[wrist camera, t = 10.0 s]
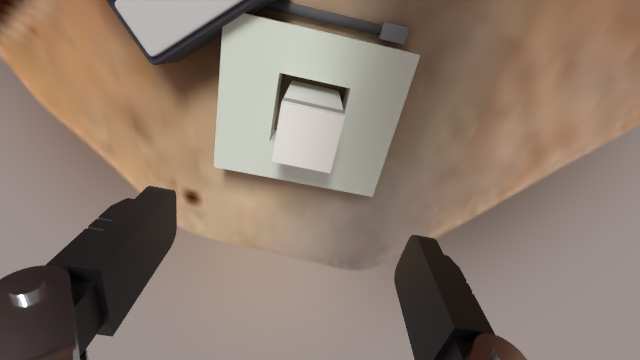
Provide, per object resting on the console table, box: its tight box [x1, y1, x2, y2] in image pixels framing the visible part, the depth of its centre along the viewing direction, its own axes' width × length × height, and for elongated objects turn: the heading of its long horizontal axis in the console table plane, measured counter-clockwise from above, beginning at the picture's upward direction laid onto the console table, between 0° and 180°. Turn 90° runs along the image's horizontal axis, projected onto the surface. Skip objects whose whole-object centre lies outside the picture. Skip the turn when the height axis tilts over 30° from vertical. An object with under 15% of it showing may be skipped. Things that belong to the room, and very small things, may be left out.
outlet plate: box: [214, 13, 420, 197], centre depth 25 cm, size 12×14×3 cm
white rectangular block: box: [272, 80, 345, 173], centre depth 23 cm, size 4×4×8 cm
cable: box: [265, 0, 410, 45], centre depth 23 cm, size 1×12×1 cm, turn 78°
